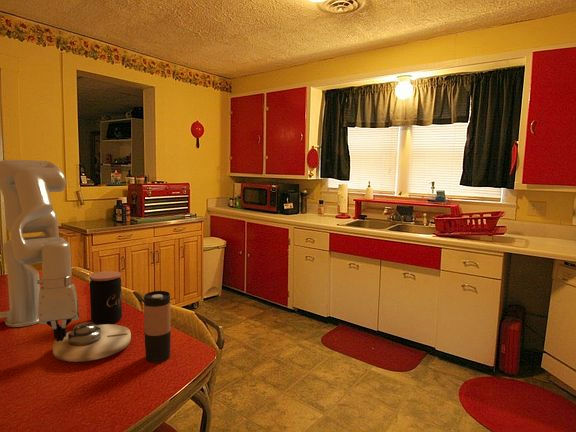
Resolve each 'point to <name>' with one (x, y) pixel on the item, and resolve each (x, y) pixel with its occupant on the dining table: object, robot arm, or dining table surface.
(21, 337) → the dining table surface
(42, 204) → the robot arm
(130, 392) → the dining table surface
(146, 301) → the travel mug
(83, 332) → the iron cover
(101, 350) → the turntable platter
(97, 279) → the coffee jar
